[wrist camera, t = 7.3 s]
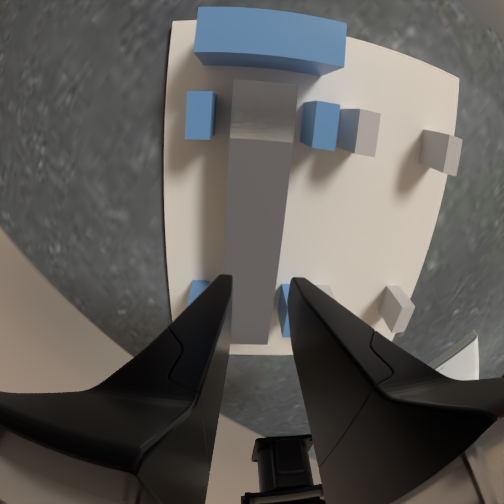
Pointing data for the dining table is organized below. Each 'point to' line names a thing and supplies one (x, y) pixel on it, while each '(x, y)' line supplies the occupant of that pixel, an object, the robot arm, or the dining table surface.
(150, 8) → the dining table surface
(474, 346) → the hard drive
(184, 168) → the board
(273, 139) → the dark grey bar
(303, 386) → the robot arm
